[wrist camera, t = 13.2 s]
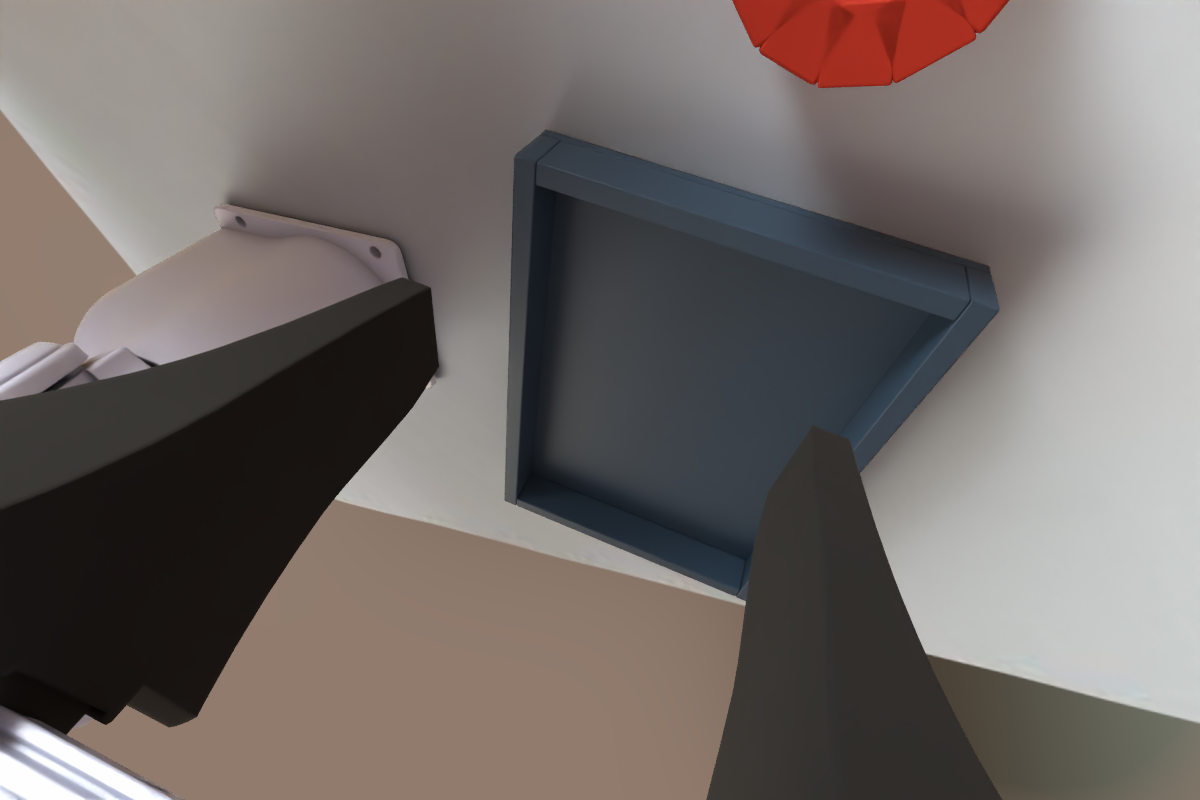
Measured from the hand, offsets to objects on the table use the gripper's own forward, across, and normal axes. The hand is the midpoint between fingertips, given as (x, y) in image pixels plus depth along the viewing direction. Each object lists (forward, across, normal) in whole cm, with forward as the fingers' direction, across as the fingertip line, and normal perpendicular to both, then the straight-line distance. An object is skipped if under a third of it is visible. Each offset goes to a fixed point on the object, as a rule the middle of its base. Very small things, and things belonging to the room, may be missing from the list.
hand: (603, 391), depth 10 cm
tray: (+9, -1, +9) cm, 13 cm away
